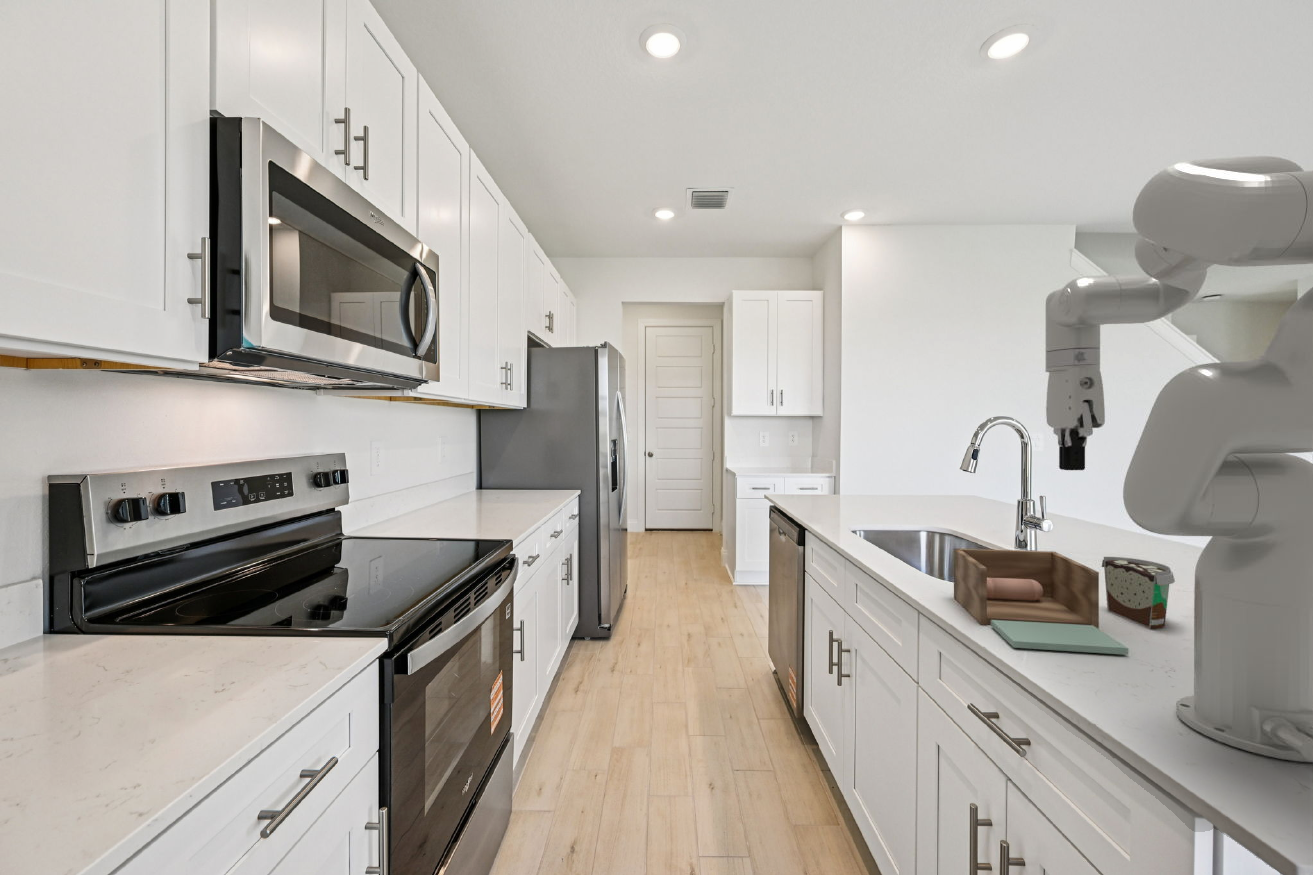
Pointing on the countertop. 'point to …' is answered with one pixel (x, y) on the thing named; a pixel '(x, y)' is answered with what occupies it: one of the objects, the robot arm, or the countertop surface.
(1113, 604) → the food container
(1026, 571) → the crate
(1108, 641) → the flat green panel
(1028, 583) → the pink cylinder
